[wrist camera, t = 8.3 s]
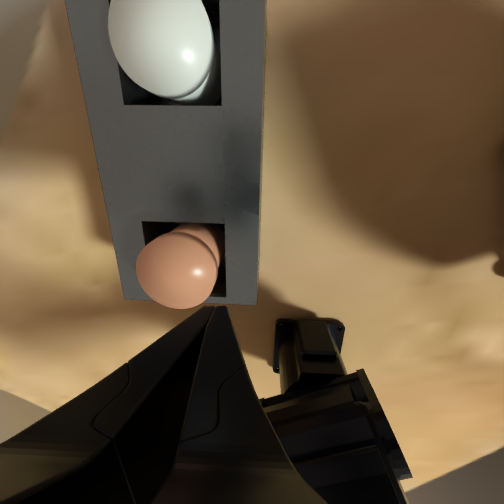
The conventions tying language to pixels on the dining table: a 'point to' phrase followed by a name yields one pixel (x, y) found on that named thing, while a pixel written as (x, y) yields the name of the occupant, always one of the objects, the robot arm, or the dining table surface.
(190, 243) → the terracotta plunger
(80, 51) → the press block
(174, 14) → the plunger
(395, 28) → the dining table surface
